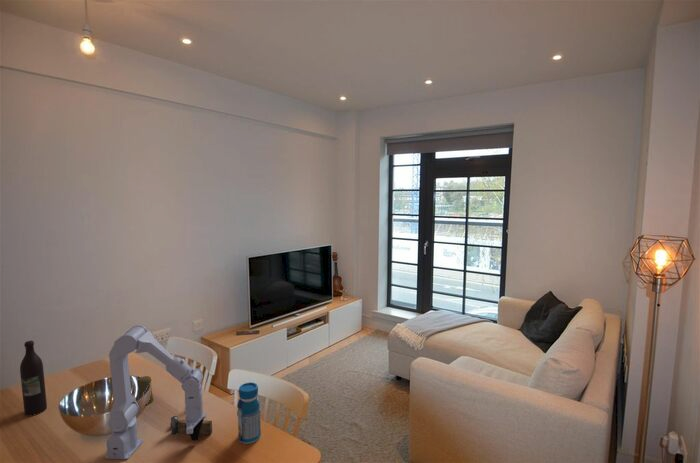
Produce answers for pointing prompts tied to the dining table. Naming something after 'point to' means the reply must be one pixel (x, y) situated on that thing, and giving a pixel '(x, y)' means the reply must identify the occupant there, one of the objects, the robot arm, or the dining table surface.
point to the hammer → (174, 425)
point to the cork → (144, 386)
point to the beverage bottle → (248, 413)
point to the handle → (205, 429)
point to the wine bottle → (32, 381)
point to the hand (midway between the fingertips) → (195, 439)
